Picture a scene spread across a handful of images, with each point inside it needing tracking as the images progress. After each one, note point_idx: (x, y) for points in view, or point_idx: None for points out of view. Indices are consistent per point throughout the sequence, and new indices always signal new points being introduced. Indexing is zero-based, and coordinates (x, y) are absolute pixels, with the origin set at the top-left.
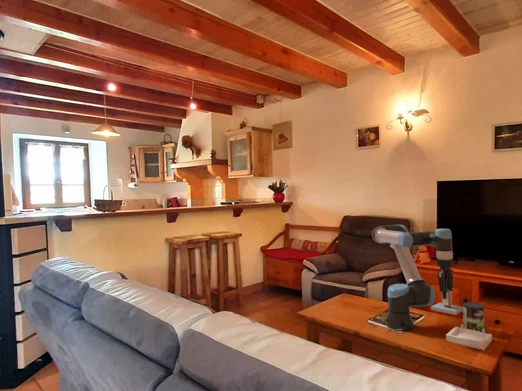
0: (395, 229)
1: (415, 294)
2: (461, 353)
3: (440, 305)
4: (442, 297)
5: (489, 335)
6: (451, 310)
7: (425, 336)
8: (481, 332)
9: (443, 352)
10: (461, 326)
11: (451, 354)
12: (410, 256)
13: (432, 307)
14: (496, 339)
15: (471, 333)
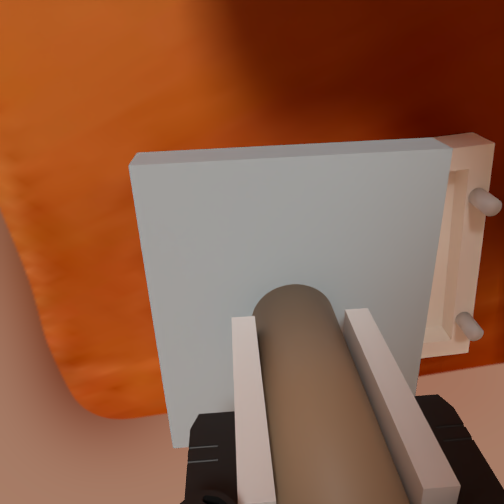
0: None
1: None
2: (142, 298)
3: (295, 233)
4: (234, 401)
5: (442, 349)
6: (177, 411)
7: (209, 3)
8: (467, 306)
9: (63, 231)
10: (476, 199)
11: (80, 271)
12: None
13: (133, 185)
14: (480, 338)
15: (451, 247)
